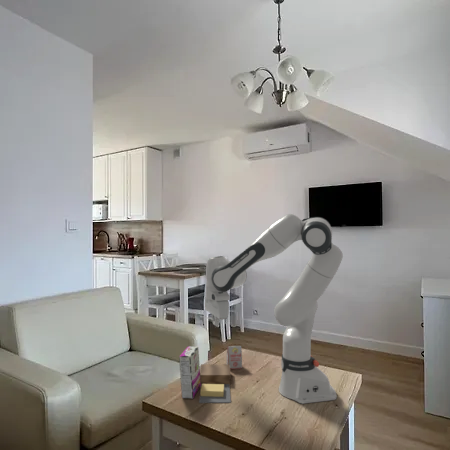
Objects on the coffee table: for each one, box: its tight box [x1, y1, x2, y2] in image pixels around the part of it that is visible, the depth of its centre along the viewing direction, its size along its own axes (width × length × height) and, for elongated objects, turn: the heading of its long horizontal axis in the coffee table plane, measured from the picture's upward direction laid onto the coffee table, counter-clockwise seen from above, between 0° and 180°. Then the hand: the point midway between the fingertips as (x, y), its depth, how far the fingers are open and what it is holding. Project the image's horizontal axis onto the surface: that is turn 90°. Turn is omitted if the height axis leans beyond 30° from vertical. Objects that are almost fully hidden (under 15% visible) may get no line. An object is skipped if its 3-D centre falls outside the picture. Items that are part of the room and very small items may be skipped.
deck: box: [200, 363, 232, 386], centre depth 143 cm, size 13×11×4 cm
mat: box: [198, 384, 232, 404], centre depth 130 cm, size 12×14×1 cm
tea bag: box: [226, 345, 243, 370], centre depth 155 cm, size 4×7×10 cm, turn 99°
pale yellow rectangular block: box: [199, 384, 224, 397], centre depth 130 cm, size 9×6×2 cm, turn 88°
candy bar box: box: [178, 345, 201, 400], centre depth 131 cm, size 11×5×16 cm, turn 168°
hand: (215, 324), depth 142 cm, fingers closed
